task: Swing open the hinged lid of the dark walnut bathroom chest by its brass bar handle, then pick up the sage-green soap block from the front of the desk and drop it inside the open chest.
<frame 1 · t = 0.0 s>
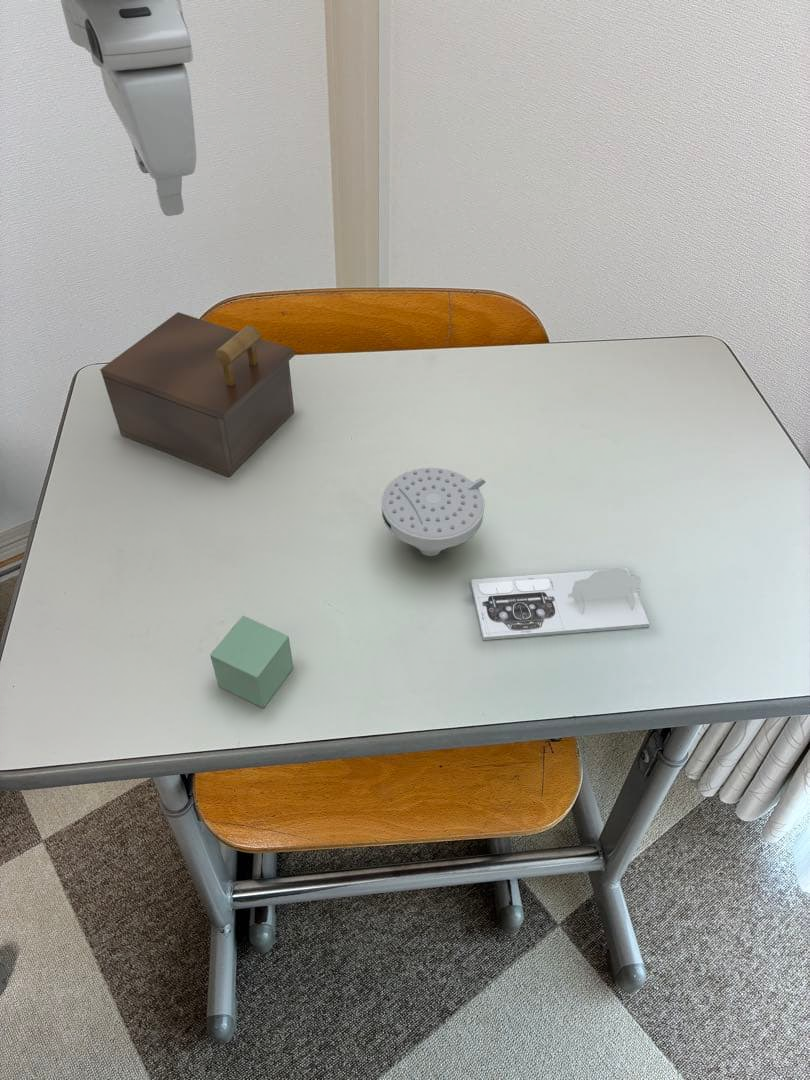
hand: (160, 190, 72), 26 cm above the table, tool pointing down, fingers open, 8 cm apart
chest: (209, 423, 90), on the table
soap block: (256, 676, 67), on the table
showerhead: (432, 548, 77), on the table
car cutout: (557, 605, 73), on the table
lid: (195, 344, 82), point 10 cm above the table, hinge at 0.0°
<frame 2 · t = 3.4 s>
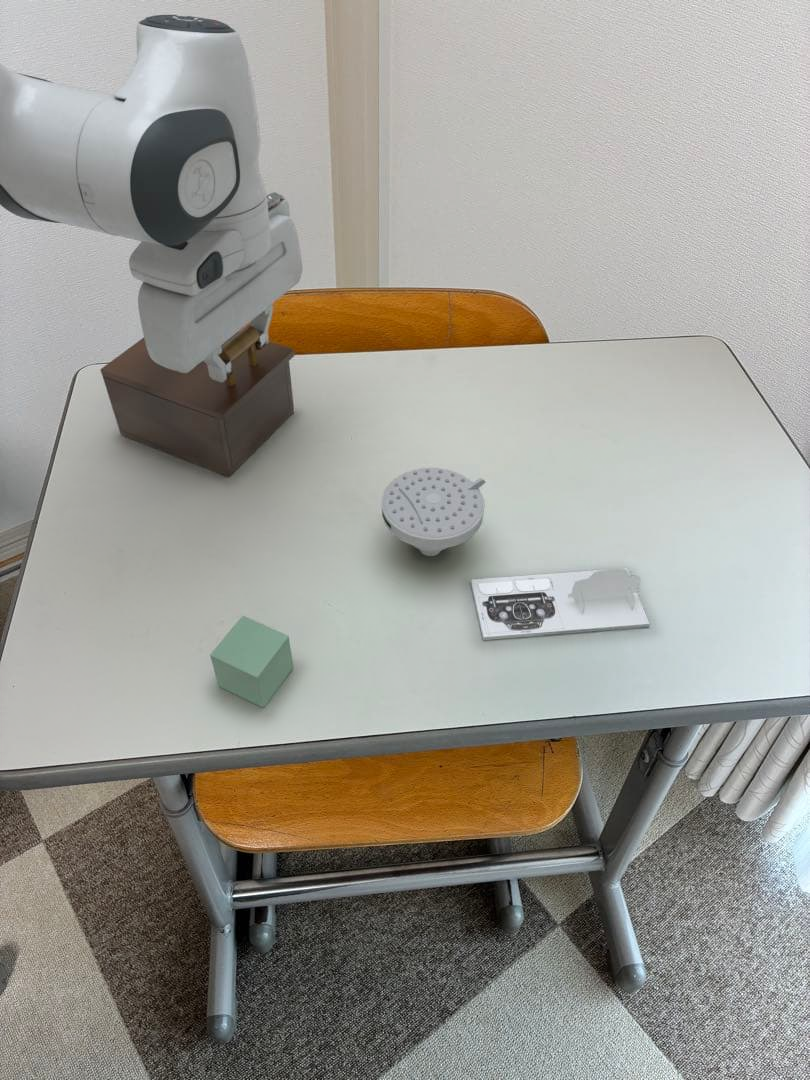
hand: (240, 361, 80), 10 cm above the table, tool pointing down, fingers closed on lid, 5 cm apart
lid: (195, 344, 82), point 10 cm above the table, hinge at -0.1°, touching gripper
everything else where it was.
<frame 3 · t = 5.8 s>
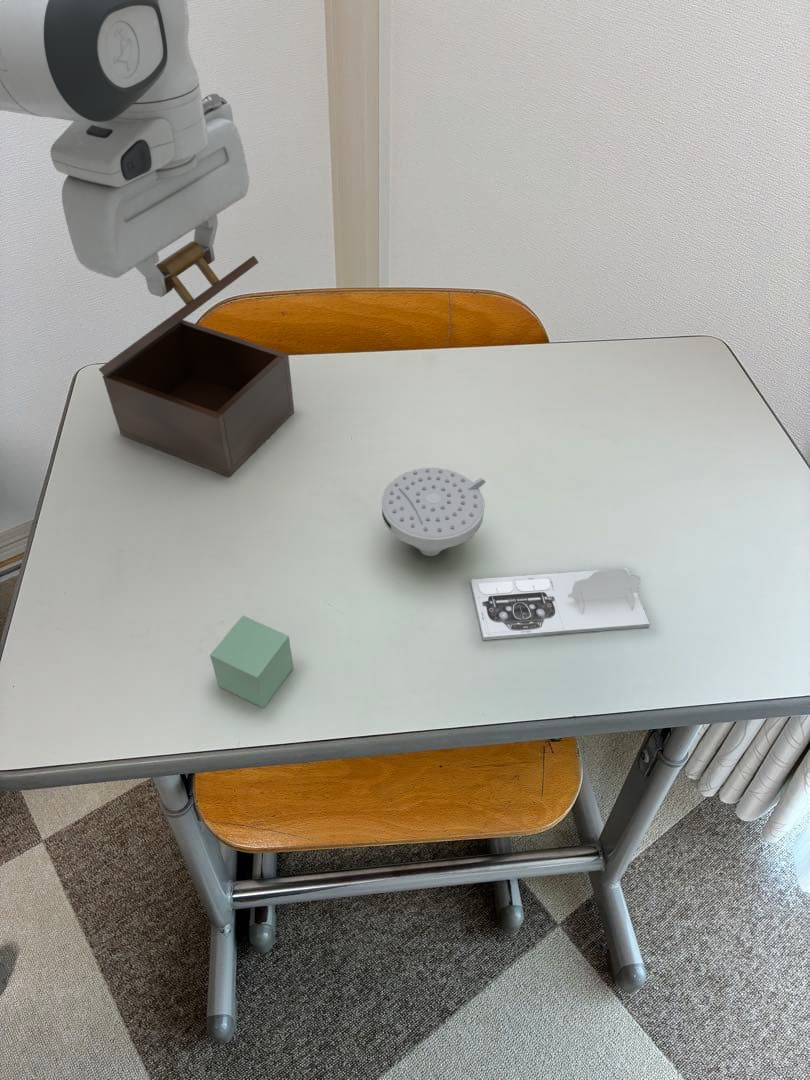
hand: (183, 277, 76), 18 cm above the table, tool pointing down, fingers closed on lid, 5 cm apart
lid: (163, 298, 80), point 15 cm above the table, hinge at 39.3°, touching gripper
everything else where it was.
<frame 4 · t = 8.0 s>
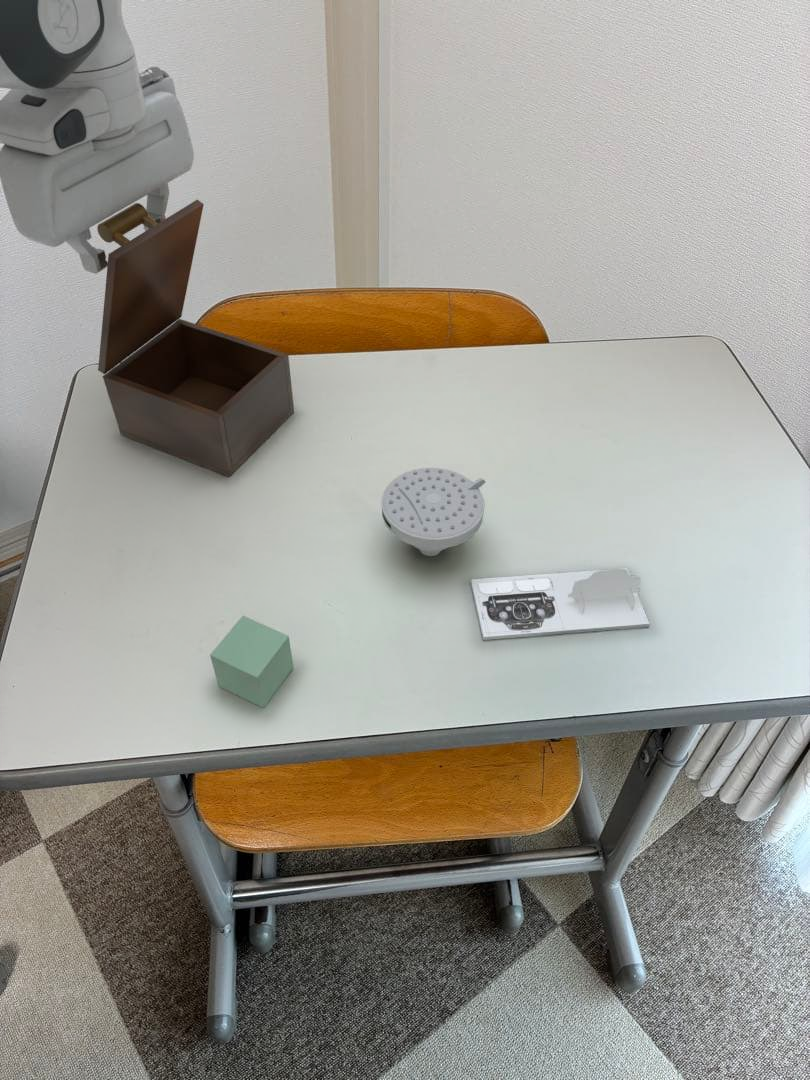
hand: (127, 249, 77), 19 cm above the table, tool pointing down, fingers open, 7 cm apart
lid: (131, 276, 80), point 16 cm above the table, hinge at 66.9°
everything else where it was.
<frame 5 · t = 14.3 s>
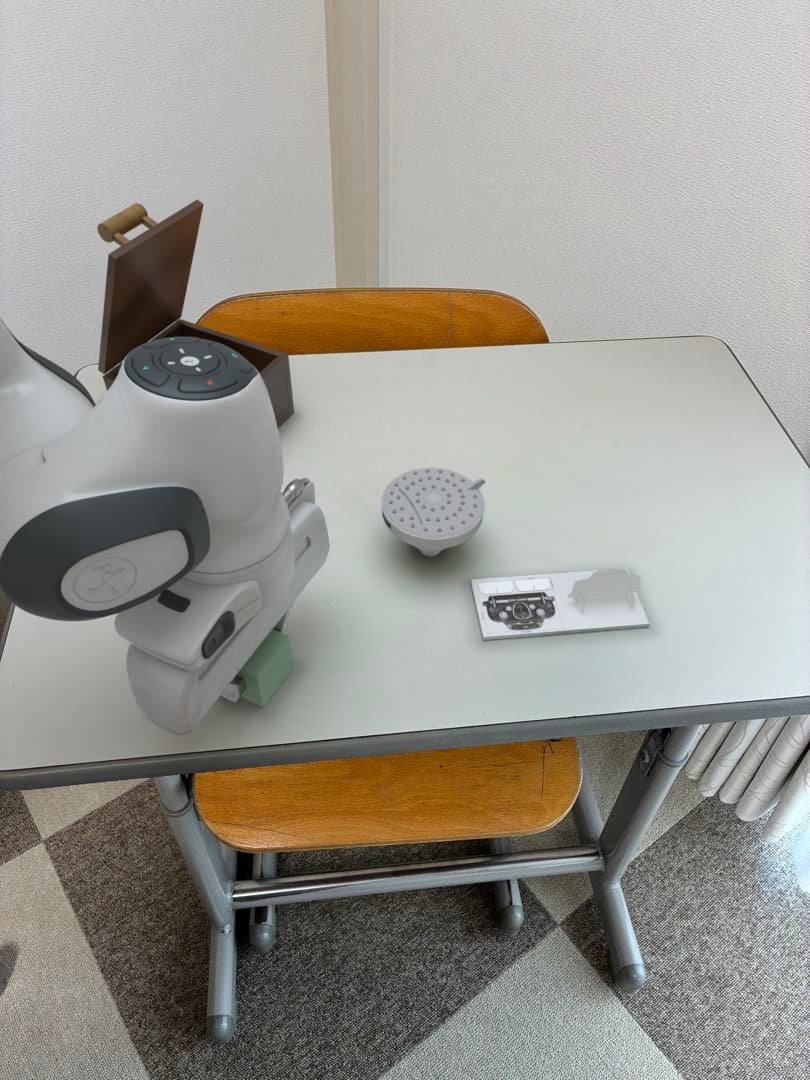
hand: (253, 666, 66), 2 cm above the table, tool pointing down, fingers closed on soap block, 4 cm apart
soap block: (256, 676, 67), on the table, touching gripper
everything else where it was.
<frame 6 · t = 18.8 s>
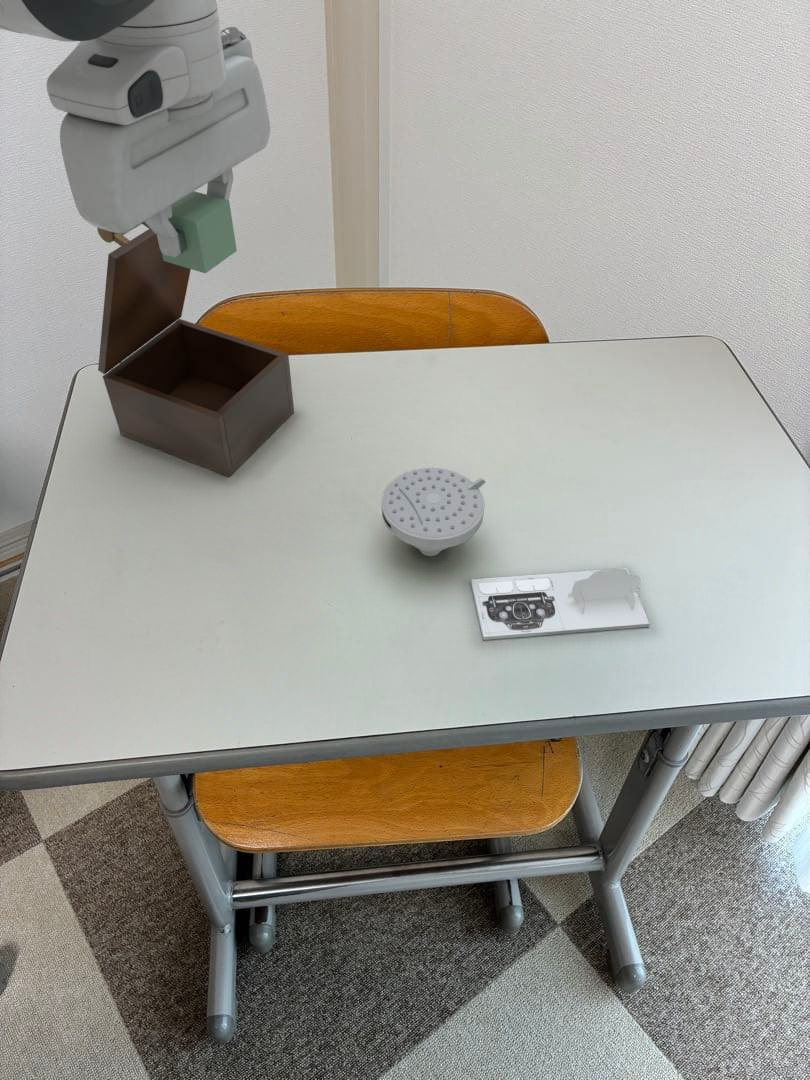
hand: (196, 238, 68), 24 cm above the table, tool pointing down, fingers closed on soap block, 4 cm apart
soap block: (200, 256, 69), point 23 cm above the table, touching gripper
everything else where it was.
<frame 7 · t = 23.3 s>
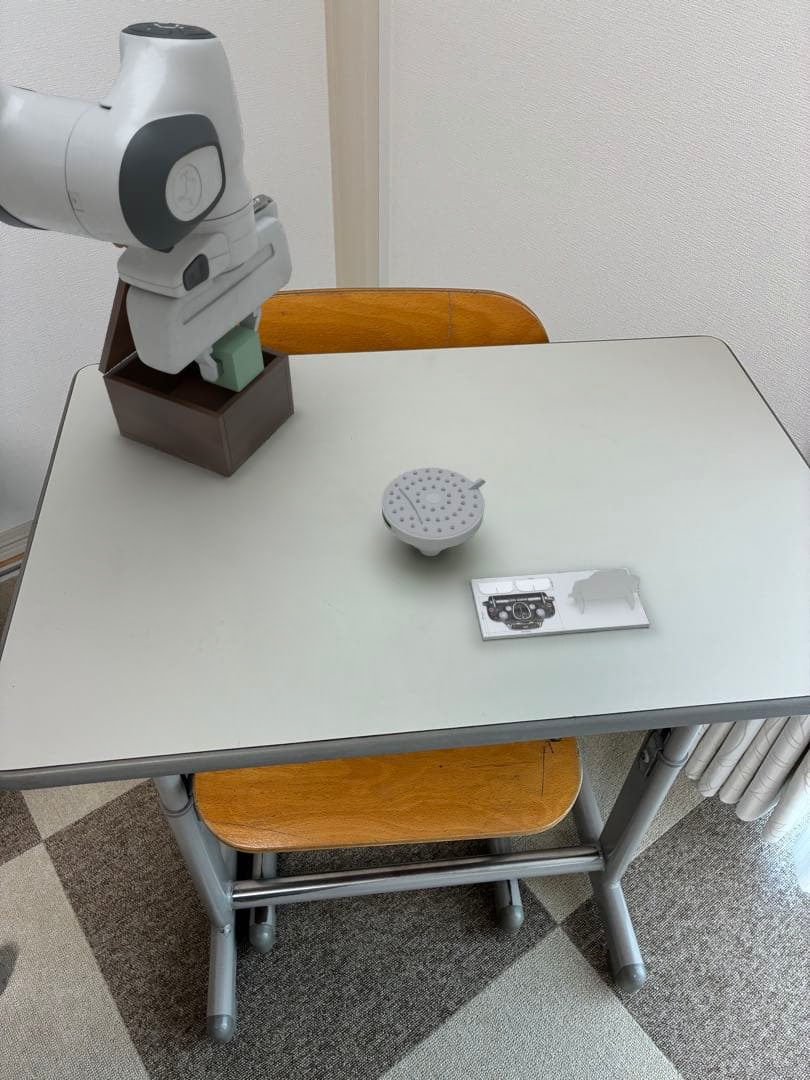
hand: (231, 361, 81), 10 cm above the table, tool pointing down, fingers closed on soap block, 4 cm apart
soap block: (234, 374, 83), point 8 cm above the table, touching gripper
lid: (138, 279, 79), point 16 cm above the table, hinge at 61.5°, touching arm
everything else where it was.
when the fingers open (10 cm above the table, at t = 23.3 s): soap block drops 5 cm and tips over, resting on chest.
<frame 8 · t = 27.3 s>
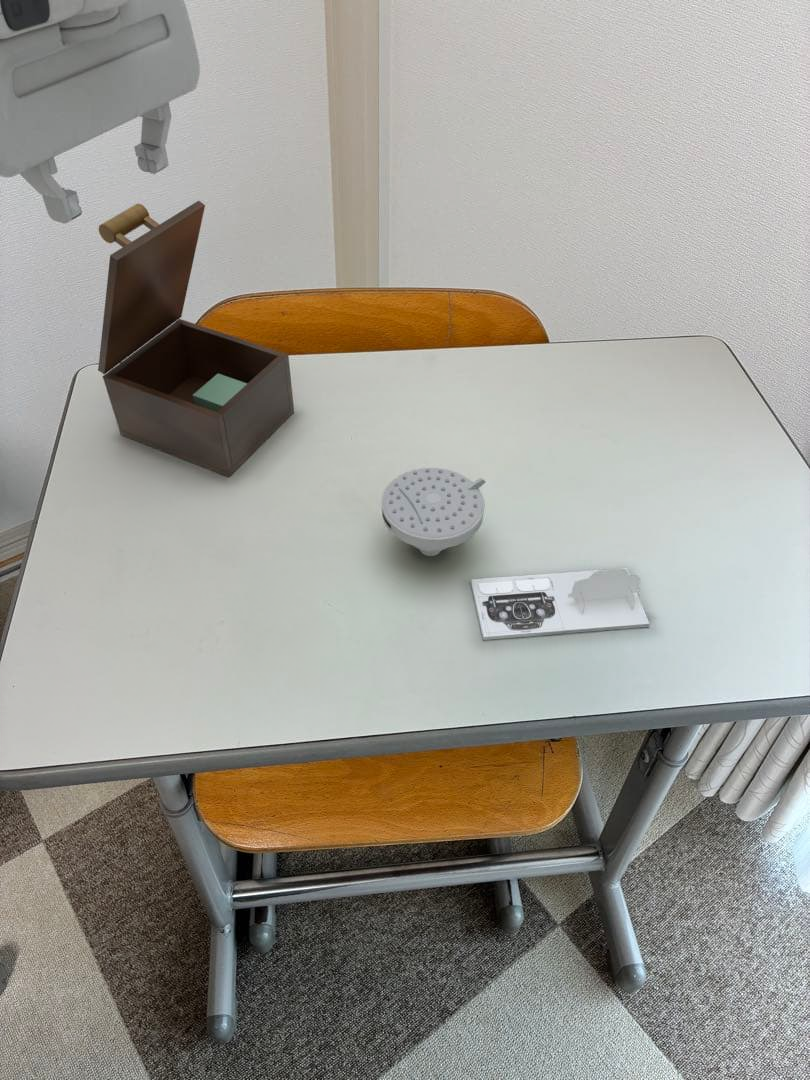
hand: (112, 192, 59), 31 cm above the table, tool pointing down, fingers open, 8 cm apart
soap block: (242, 413, 86), point 3 cm above the table, tilted 90°, touching chest
lid: (132, 277, 80), point 16 cm above the table, hinge at 66.3°
everything else where it was.
at the end: lid at +66° (first picture: +0°); soap block inside the target area in the chest (4.8 cm from its centre), point 3.0 cm above the chest's base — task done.
